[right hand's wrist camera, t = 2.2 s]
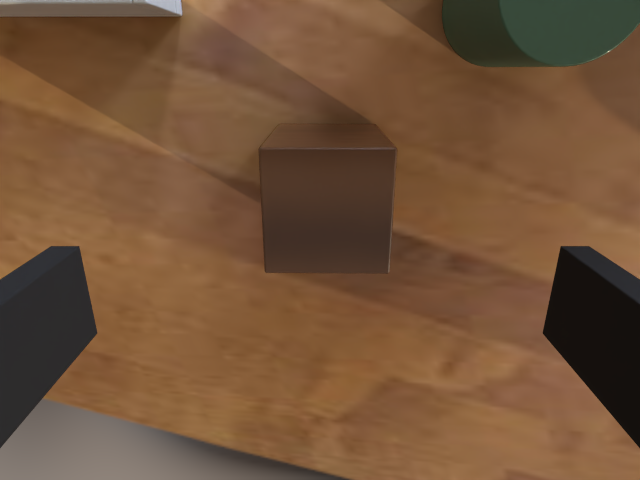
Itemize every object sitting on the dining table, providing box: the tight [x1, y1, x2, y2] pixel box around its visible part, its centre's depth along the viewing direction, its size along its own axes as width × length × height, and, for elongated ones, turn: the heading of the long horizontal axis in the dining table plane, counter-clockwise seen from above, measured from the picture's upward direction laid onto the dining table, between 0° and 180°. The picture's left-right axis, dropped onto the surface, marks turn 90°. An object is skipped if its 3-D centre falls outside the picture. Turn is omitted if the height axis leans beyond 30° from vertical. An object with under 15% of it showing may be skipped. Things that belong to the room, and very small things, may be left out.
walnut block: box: [259, 124, 397, 273], centre depth 22 cm, size 6×6×8 cm
